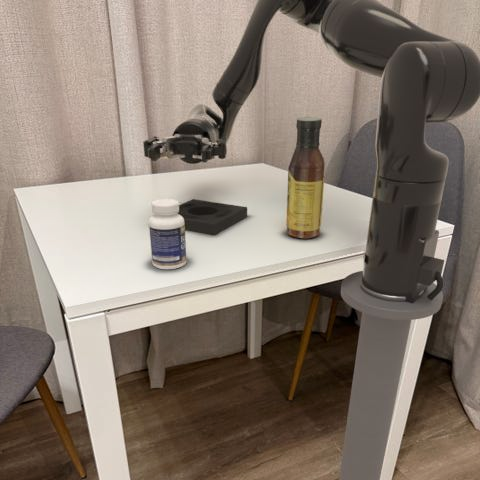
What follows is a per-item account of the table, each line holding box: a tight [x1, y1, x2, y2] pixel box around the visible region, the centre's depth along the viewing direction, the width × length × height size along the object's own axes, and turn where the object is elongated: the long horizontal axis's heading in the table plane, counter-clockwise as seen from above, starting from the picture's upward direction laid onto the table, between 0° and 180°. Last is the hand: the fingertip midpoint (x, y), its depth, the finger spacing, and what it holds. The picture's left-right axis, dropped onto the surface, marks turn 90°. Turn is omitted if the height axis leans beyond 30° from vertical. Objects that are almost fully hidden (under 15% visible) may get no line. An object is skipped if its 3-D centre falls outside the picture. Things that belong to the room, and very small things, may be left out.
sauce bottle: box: [285, 116, 326, 240], centre depth 83 cm, size 7×6×20 cm
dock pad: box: [178, 198, 248, 236], centre depth 95 cm, size 13×13×2 cm
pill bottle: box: [148, 198, 187, 270], centre depth 73 cm, size 5×5×10 cm
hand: (178, 155), depth 79 cm, fingers open, 8 cm apart
